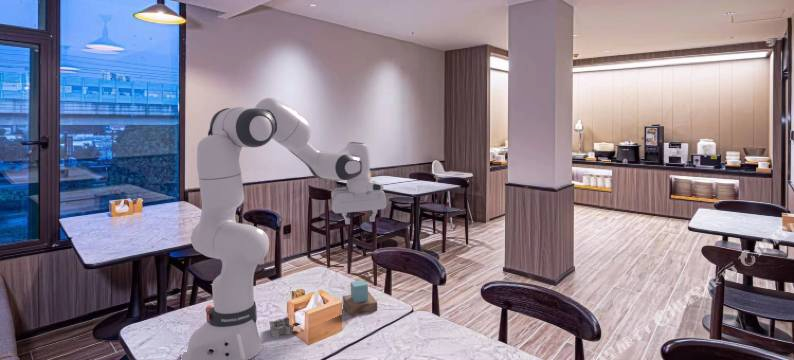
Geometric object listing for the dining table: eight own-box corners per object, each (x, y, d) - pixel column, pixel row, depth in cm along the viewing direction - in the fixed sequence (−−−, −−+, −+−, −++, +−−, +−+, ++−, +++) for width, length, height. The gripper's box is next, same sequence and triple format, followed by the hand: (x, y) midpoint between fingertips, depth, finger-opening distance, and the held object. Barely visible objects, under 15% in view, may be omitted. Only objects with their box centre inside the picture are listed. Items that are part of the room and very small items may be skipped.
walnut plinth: (349, 314, 153) (349, 306, 152) (343, 303, 162) (342, 296, 162) (377, 310, 156) (377, 302, 156) (369, 299, 165) (368, 292, 165)
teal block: (354, 302, 155) (354, 286, 155) (351, 297, 160) (350, 281, 159) (368, 300, 157) (367, 284, 156) (364, 295, 162) (363, 279, 161)
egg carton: (302, 323, 148) (301, 311, 147) (304, 333, 141) (304, 321, 140) (269, 327, 145) (268, 316, 144) (270, 338, 138) (269, 326, 137)
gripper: (332, 189, 155) (334, 227, 157) (387, 185, 162) (388, 221, 164) (329, 186, 161) (330, 223, 163) (382, 183, 168) (382, 218, 170)
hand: (360, 222), depth 163 cm, fingers open, 8 cm apart
